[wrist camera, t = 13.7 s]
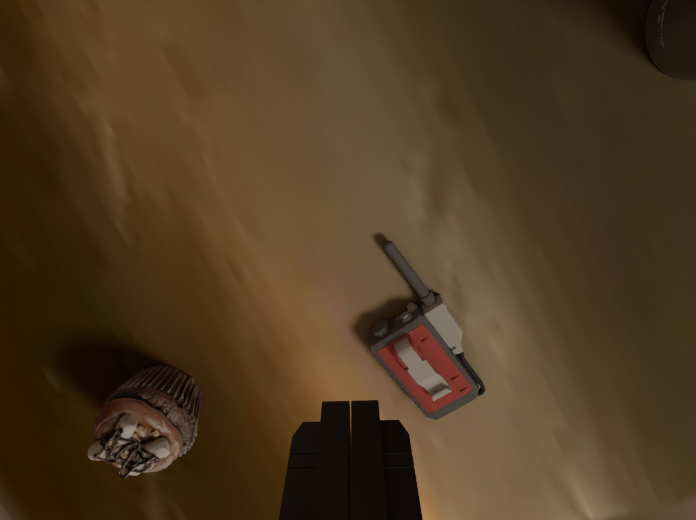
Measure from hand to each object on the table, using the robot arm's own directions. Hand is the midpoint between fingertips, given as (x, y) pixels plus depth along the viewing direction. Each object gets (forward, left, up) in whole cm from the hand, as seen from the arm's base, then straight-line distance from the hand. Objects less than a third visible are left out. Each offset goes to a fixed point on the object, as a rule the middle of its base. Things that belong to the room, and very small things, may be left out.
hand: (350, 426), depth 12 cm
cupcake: (+21, +23, -31) cm, 44 cm away
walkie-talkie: (-6, +16, -32) cm, 36 cm away
